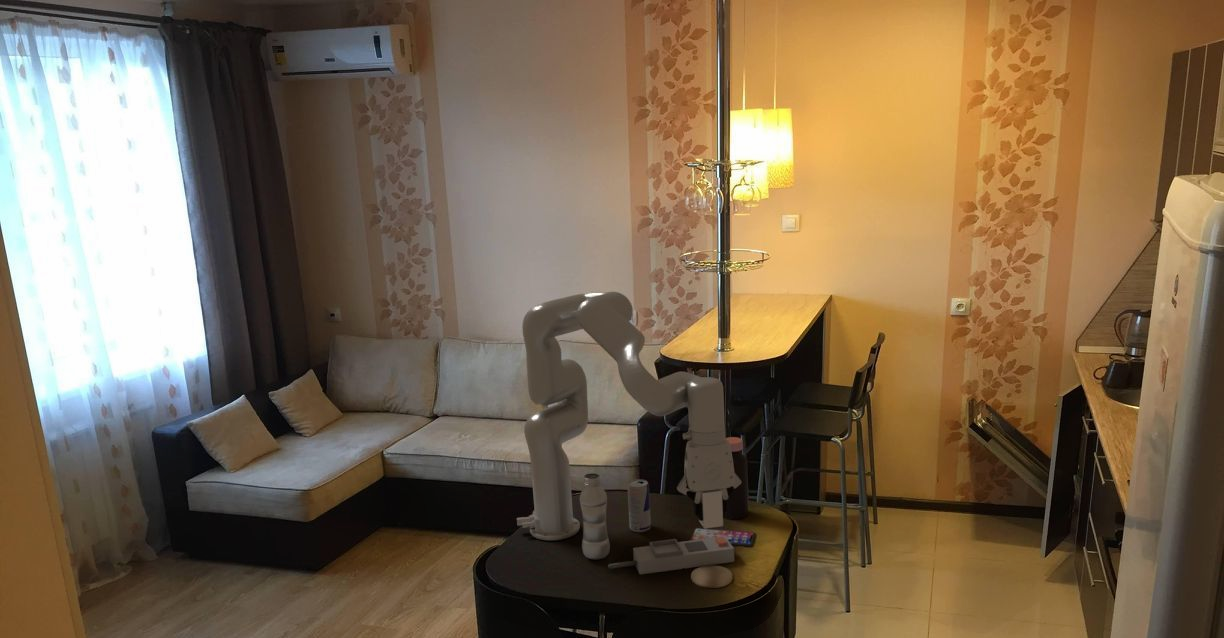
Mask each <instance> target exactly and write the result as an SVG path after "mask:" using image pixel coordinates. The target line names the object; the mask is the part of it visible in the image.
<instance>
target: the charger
mask: <svg viewBox="0 0 1224 638" xmlns="http://www.w3.org/2000/svg"><path fill="white" fill-rule="evenodd" d="M701 503H702V506H703V521H700V520H699V519H698V521H699V523H700V524H701V526H702V528H704V529H713V528H718V527H723V526H724V518H723V508H722V490H721V489H717V490H709V491H702V493H701Z"/></svg>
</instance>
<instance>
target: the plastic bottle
mask: <svg viewBox="0 0 1224 638" xmlns="http://www.w3.org/2000/svg"><path fill="white" fill-rule="evenodd" d="M583 485H584V487H583V489H582V490H581V492H580V495H579V505H580V509H581V515H582V524H583V531H582V532H583V533H582V540H581V541H582V542H581V549H582V553H583V555H584V556H585V558H587V559H589V560H595V561H596V560H602V559H605V558H606V557H607V556H608V555H609V553H610V549H611V543H610V539H609V536H608V529H607V507H608V506H607V505H608V496H607V492H606V491H605V490H604V488H603V487H602V486H601V477H600V474H599V473H597V472H595V473H593V472H591V473H590V472H589V473H586V474H585V475H584V476H583Z"/></svg>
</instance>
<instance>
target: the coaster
mask: <svg viewBox="0 0 1224 638" xmlns="http://www.w3.org/2000/svg"><path fill="white" fill-rule="evenodd" d="M690 579H691V581H692V583H693V584H694V585H696V586H698V587H701V588H706V589H718V588H723V587H726V586H728V585H729V584H731V582H732V581H733V573H732V571H731V570H730V569H728V568H727V567H723V566H721V565H716V564H713V565H706V566H698V567H697V568H695V569H694V570H693V571H692V572H691V574H690Z"/></svg>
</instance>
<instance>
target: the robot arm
mask: <svg viewBox="0 0 1224 638" xmlns="http://www.w3.org/2000/svg"><path fill="white" fill-rule="evenodd" d="M633 309H634V308H633V305H632V303H631V300H629V298H628V297H627V296H626V295H624V294H623V293H620V292H619V291H607V292H604V291H603V292H592V293H579V294H574V295H570V296H565V297H562V298H561V297H560V298H557V299H552V300H549V301H545V302H542V303H540V304H537V305H535V306H534V307H531V308H530V309H529V310H528V311H527V312H526V313H525V315H524V317H523V320H522V336H523V341H524V346H525V353H526V360H525V361H526V372H527V374H526V376H527V389H528V395H529V398H530V400H531V402H532V403H534V405H536V406H540V407H545V406H549V407H546V408H542V409H540V410H538V411H537V412H534V413H533V414H532V415H530V416H529V417H528V418H527V419H526V421H525V424H524V428H523V430H524V432H523V433H524V437H525V440H526V444H527V449H528V452H529V459H530V469H531V470H530V471H531V481H532V494H533V505H534V506H533V507H534V510H533V511H532V514H529V515H528V516H526V517H524V516H522V517H517V518H516V524H517V526H518V527H519V526H522V528H523V529H527V528H529V533H530V535H531V536H532V537H533V538H536V539H538V540H542V541H560V540H565V539H568V538H571V537H573V536H575V535H576V534H577V533H578V532H579V531H580V529H581V527H580V526H581V525H580V521H579V520H578V519H576V518H575V517H574V514H573V500H572V499H573V496H572V486H571V485H572V482H571V469H570V468H571V467H570V459H569V457H568V455H567V453H566V452H565V450H564V449H563V447H562V446H563V444H564V443H566V442H568V441H570V440H572V439H575V438H576V437H579V436H581V434H583V433H584V432H585V431H586V429H587V426H588V421H589V406H588V405H589V403H588V385H587V384H588V381H587V376H586V373H585V371H584V370H583V367H582V366H581V365H580V364H579V363H578V362H577V361H576V360H573V359H570V358H567V359H566V358H565V359H562V349H561V344H560V343H559V341H558V340H557V339H558V338H556V337H560V336H564V335H566V334H570V333H574V332H576V331H580V330H584V332H585V333H587V334H588V335H589V337H590V338H592V340H594V342H596V343H597V344H598V345H599V347H601V348H602V349H603V350H604V351H605V352H606V353H607V354H608V355H609V356H610V357H612V359H613V360H614V361H615V362H616V364H617V370H618V371H617V372H618V374H619V377H620V380H621V383H622V385H623V388H624V389H625V390H626V392H627V394H628V395H629V396H630V397H631V398H632V399H633V400H634V401H635V402H637V403H638V405H639V406H641V407H642V408H643V409H644V410H645V411H646V412H648V413H650V414H651V415H654V416H656V417H664V416H667V415H670V414H671V413H675V412H676V411H678V410H680V409H683V408H686V407H687V410H688V431H687V432H684V433H682V439H683V440H688V441H687V442H686V446H685V453H684V465H683V466H684V469H683V470H684V475H683V476H682V478H681V480H680V481H679V483H678V485H677V486H676V489H677V491H678V492H679V493H681V494H682V495H685V496H687V498H689V499H690V500H692V502H693V513H694V516H695V517H697V519H698V521H699V520H700V521H703V506H702V503H701V493H702V491H709V490H717V489H721V490H722V508H723V519H724V518H725V519H726V517H725V512H727V502H726V500H727V499H728V496H729V495H730V494H731V493H732V492H733V490H734V489H735V488H736V487H738V486H739V485H740V484H741V483H742V482H741V480H740V479H739V478H738V476H737V475H736V474H735V473H734V465H733V458H732V452H731V447H730V443H729V441H728V440H727V439H725V438H726V428H725V427H726V426H725V424H726V422H725V403H724V402H725V400H724V399H725V397H724V385H723V383H722V381H721V380H720V379H719V378H715V377H711V376H703V377H702V376H699V375H696V374H692V373H691V372H687V371H677V372H673V373H672V374H669V375H666V376H664V377H661V378H659V379H657V378H656V377H655V376H654V375H653V374H651V372H650V371H648V369H646V367H645V366H644V365H643V364H642V362H641V358H640V354H641V351H642V350H643V348H644V345H645V343H646V339H645V336H644V334H643V333H642V331H640V330H639V329H638V328H637V327H636V326H635V325H634V324H632V323H631V322H630V321H631V320H632V317H633V313H634V310H633ZM550 405H551V406H550ZM687 486H688V488H687ZM700 521H699V522H700Z"/></svg>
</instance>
